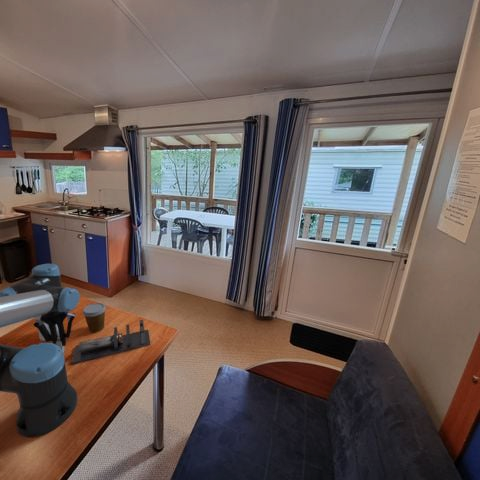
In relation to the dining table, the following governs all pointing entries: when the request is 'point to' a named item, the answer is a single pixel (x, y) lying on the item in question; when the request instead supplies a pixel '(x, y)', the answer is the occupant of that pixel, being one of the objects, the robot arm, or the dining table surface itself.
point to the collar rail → (115, 345)
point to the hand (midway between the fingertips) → (61, 352)
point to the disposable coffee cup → (95, 316)
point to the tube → (99, 342)
